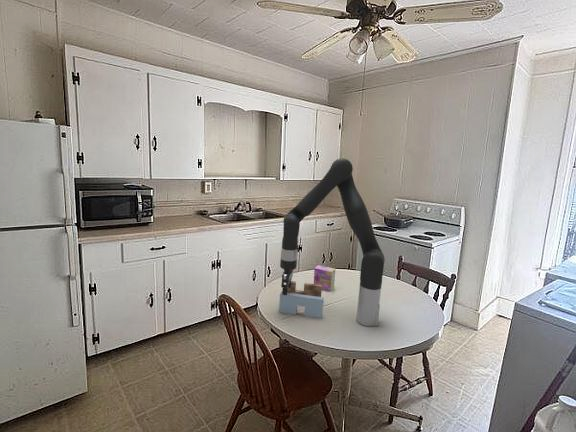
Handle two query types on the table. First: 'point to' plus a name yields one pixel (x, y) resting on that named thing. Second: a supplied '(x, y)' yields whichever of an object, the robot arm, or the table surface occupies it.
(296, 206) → the robot arm
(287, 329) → the table surface
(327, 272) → the box
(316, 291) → the slotted board
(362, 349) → the table surface
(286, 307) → the notched plate
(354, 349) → the table surface
